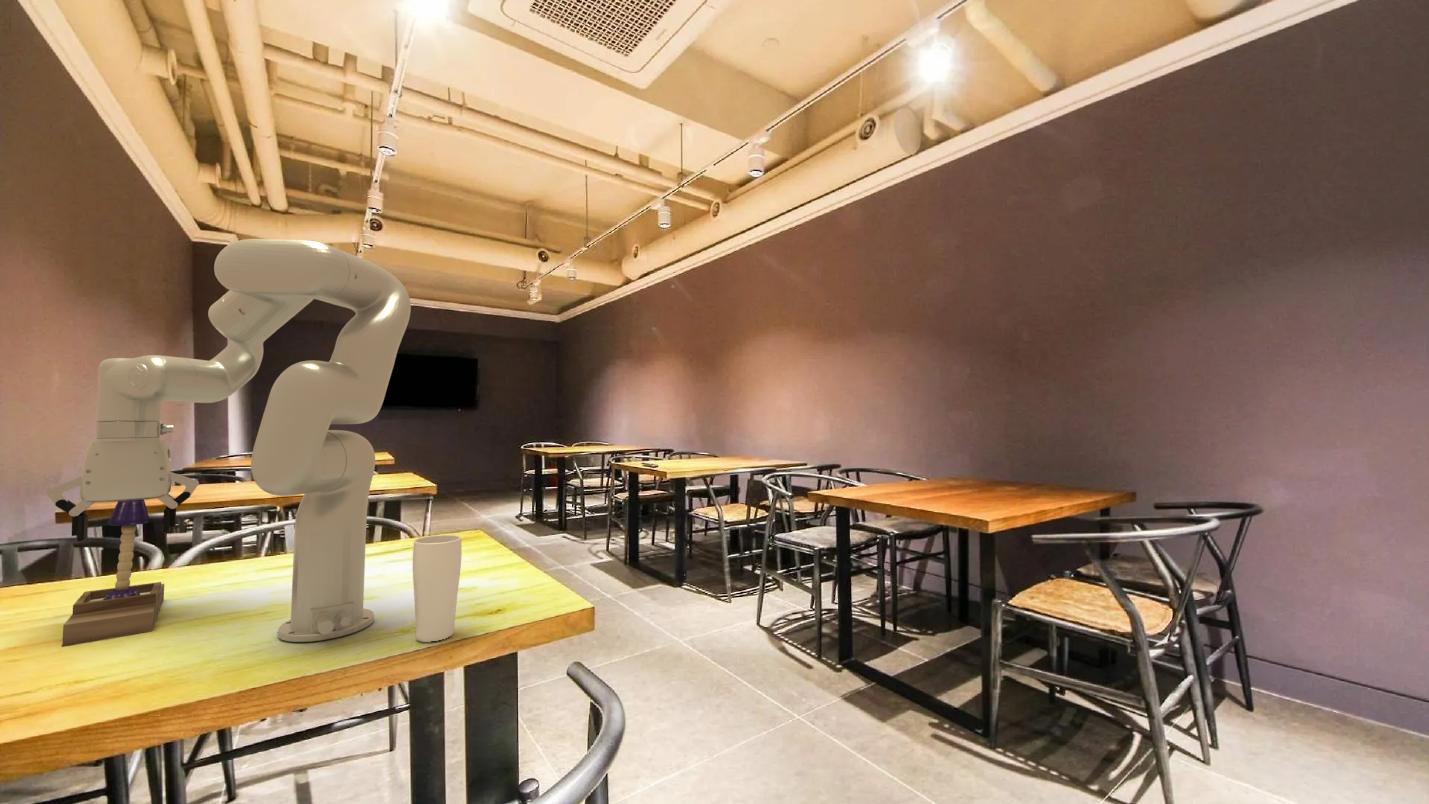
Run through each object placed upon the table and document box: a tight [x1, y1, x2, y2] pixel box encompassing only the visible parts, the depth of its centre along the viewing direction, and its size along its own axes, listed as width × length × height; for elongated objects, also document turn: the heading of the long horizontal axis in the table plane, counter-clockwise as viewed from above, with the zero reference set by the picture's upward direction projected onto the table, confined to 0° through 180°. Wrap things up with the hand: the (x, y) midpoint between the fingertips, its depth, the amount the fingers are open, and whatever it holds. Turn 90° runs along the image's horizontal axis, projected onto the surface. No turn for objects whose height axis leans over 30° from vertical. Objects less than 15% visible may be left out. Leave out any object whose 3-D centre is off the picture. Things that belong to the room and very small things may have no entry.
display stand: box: [61, 581, 165, 647], centre depth 91 cm, size 20×9×4 cm, turn 42°
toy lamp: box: [103, 500, 150, 600], centre depth 91 cm, size 5×5×17 cm
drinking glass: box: [412, 534, 463, 643], centre depth 85 cm, size 7×7×15 cm
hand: (125, 535), depth 91 cm, fingers open, 9 cm apart
